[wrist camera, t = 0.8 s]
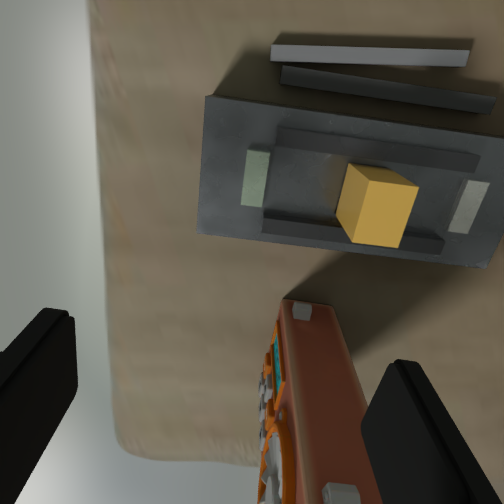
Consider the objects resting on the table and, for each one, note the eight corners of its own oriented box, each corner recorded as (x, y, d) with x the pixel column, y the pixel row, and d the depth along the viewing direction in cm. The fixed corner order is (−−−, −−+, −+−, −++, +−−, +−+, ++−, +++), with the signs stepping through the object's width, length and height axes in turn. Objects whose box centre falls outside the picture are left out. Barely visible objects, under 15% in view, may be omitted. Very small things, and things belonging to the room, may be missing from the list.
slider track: (508, 137, 28) (560, 147, 23) (460, 248, 32) (495, 276, 27) (212, 94, 27) (203, 96, 22) (203, 215, 31) (194, 239, 26)
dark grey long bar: (487, 96, 26) (497, 97, 25) (480, 113, 27) (490, 114, 26) (281, 65, 26) (282, 65, 25) (279, 83, 26) (280, 83, 25)
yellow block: (389, 168, 25) (419, 187, 20) (373, 220, 27) (397, 247, 22) (348, 162, 25) (369, 180, 20) (335, 215, 26) (351, 242, 22)
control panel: (252, 392, 41) (277, 285, 34) (309, 400, 41) (345, 296, 35) (249, 671, 21) (306, 547, 15) (357, 678, 22) (459, 562, 15)
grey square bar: (462, 51, 25) (469, 50, 24) (458, 67, 26) (465, 66, 25) (270, 46, 25) (271, 44, 24) (270, 61, 26) (270, 60, 25)
